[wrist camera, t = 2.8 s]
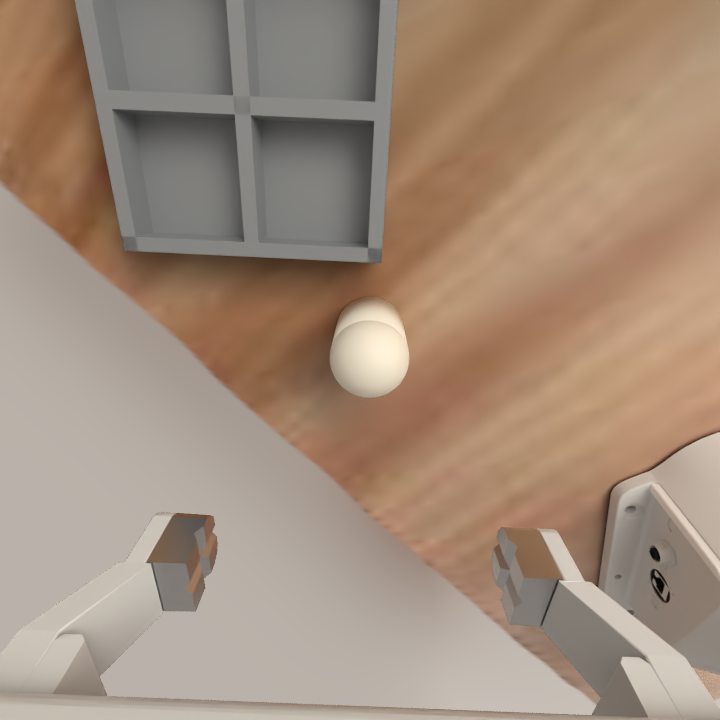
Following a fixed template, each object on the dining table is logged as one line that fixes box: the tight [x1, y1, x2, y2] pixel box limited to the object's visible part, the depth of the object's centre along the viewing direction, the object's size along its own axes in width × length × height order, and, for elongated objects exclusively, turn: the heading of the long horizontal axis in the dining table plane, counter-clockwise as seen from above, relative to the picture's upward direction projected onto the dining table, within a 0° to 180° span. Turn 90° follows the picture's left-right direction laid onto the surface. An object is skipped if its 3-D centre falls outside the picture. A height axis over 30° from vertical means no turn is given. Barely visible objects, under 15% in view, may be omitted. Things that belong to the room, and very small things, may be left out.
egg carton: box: [75, 0, 398, 263], centre depth 20 cm, size 22×15×3 cm
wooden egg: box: [330, 296, 409, 398], centre depth 24 cm, size 5×5×7 cm
